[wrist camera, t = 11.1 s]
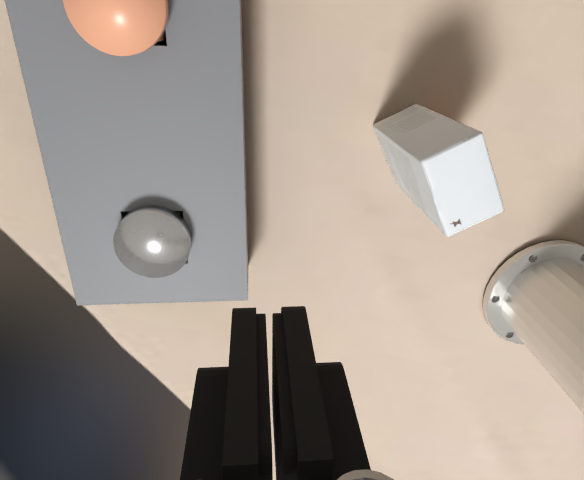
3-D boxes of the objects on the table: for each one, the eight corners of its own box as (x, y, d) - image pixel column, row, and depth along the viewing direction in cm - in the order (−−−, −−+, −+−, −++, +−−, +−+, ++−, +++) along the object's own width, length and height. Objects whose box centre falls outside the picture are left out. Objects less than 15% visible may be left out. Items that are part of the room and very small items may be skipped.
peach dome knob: (176, -40, 29) (159, -55, 24) (184, 51, 32) (169, 56, 26) (90, -43, 29) (51, -59, 23) (104, 49, 31) (72, 55, 26)
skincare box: (437, 162, 39) (507, 213, 29) (393, 182, 40) (446, 241, 29) (417, 99, 37) (485, 130, 26) (370, 122, 37) (418, 162, 27)
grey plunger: (196, 183, 37) (186, 210, 32) (201, 241, 40) (192, 276, 34) (129, 183, 37) (107, 211, 31) (138, 242, 39) (119, 278, 34)
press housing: (239, -89, 30) (236, -113, 25) (248, 265, 42) (247, 300, 37) (26, -98, 29) (-26, -126, 23) (99, 268, 41) (77, 305, 36)
